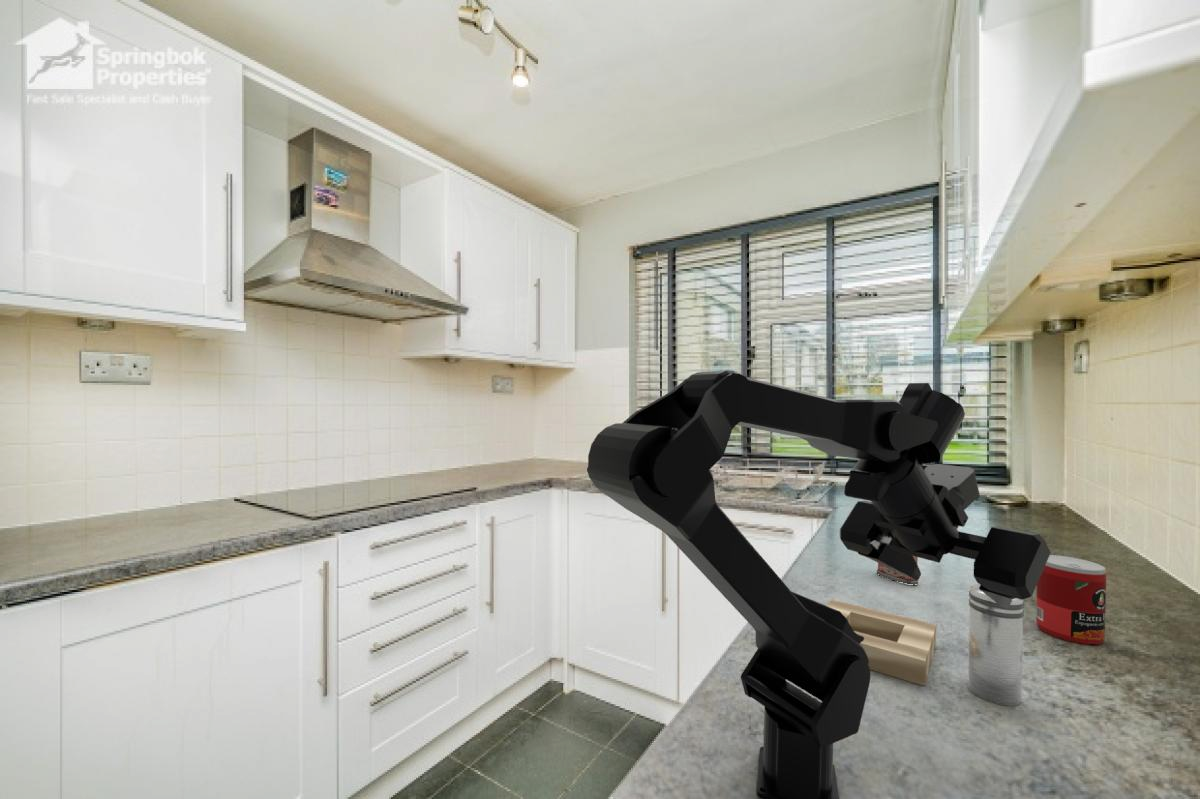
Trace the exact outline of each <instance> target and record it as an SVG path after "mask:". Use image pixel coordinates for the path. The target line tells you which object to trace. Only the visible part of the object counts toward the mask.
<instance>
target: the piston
mask: <svg viewBox="0 0 1200 799" xmlns="http://www.w3.org/2000/svg"><path fill="white" fill-rule="evenodd" d="M979 587H980V584H973V585H970V588H969V591H968V597H969V598H968V605H969V625H968V626H969V628H968V629H969V633H968V634H969V635H968V673H967V674H968V677H967V679H968V680H967V684H968V685H967V687H968V689H969V691H970V692H971V693H972V694H974V695H975V696H977V697H979V698H981V699H983V700H985V701H988V702H990V703H994V704H997V705H1001V706H1006V707H1008V706H1009V707H1015V706H1020V704H1022V682H1023V680H1022V679H1023V676H1022V675H1023V674H1022V673H1023V635H1024V634H1023V632H1024V631H1023V628H1024V627H1023V626H1024V622H1023V621H1024V617H1025V609H1024V608H1025V600H1024V599H1023V600H1021V599H1017V598H1015V599H1012V602H1011V604H1010V606H1009V608H1008V609H1007V608H1004V607H1002V606H1001V605H999V604H998V603H996V602H995V601H994V600H992V599H991V598H990V597H989V596H987V595H986V594H985V593H983V592H982V591H981V590H980V589H979Z"/></svg>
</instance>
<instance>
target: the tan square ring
mask: <svg viewBox="0 0 1200 799" xmlns="http://www.w3.org/2000/svg"><path fill="white" fill-rule="evenodd" d="M825 605H826V606H828V607H830V608H833V609H835V610H838V611H840V612H841V613H842V614H843V615H844V616H845V618H846V619H847V620H848V622H849V624H850V626H851V628H852V629H853V631H854V632H855V633H856V634H858V635H861V636H863V637H864V640H863V641H862V642H861V643H860V645H861V646H862V647H863V648H864V650H865V652H866V654H867V657H868V661H869V663H868V666H869V669H870V671H874V672H878V673H880V674H885V675H887V676H891V677H894V678H896V679H897V678H898V679H901V680H905V681H906V682H910V683H914V684H917V685H921V686H924V687H926V684H927V681H928V676H929V673H930V669H931V665H932V662H933V659H934V654H935V652H936V648H937V628H938V627H937V626H938V625H937V624H935V623H933V622H928V621H923V620H919V619H915V618H911V617H907V616H903V615H899V614H894V613H891V612H886V611H882V610H877V609H874V608H871V607H870V608H869V607H865V606H861V605H856V604H853V603H848V602H844V601H840V600H835V599H831V600H830V601H828V603H827V604H825Z"/></svg>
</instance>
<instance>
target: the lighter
mask: <svg viewBox="0 0 1200 799" xmlns="http://www.w3.org/2000/svg"><path fill="white" fill-rule="evenodd" d="M913 558H914V559H915V561H916V563H917V564H918V559H919V557H916V556H913ZM877 574H879V575H880V576H879V575H878V576H879V577H881V576H883V577H882V578H884V577H885V578H884V579H886V578H888V579H887V580H889V579H891V580H890V581H892V580H895V581H898V582H903V583H907V584H913V585H915V584H918V585H919V580H918V581H916V580H913V579H911V578H909V577H907V576H905V575H903V574H901V573H899V572H897V571H895V570H893V569H891V568H889V567H886V566H884V565H882V564H880V563H878V562H877V569H876V575H877ZM895 581H894V582H895ZM898 582H897V583H898Z"/></svg>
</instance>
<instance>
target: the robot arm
mask: <svg viewBox="0 0 1200 799" xmlns="http://www.w3.org/2000/svg"><path fill="white" fill-rule="evenodd" d="M965 414H966V413H965V409H964V407H963V406H962V404H961V403H960V402H957V401H956V400H954V399H953V397H951V396H949V395H947V394H944V393H943V392H941V391H937V390H934V389H932V387H931V385H930V383H929V382H915V383H912V382H910V383H907V386H906V387H905V389H904V391H903V393H902V396H901V398H900V399H899V401H897V400H895V399H876V398H875V399H874V398H873V399H868V398H867V399H859V398H858V399H857V398H856V399H849V398H848V399H846V398H845V399H844V398H839V399H838V398H837V399H836V398H834V399H833V398H830V397H825V396H821V395H818V394H814V393H810V392H806V391H801V390H797V389H794V388H789V387H785V386H782V385H779V384H773V383H771V382H770V383H769V382H766V381H762V380H758V379H755V378H751V377H747V376H745V375H744V374H741V373H739V372H738V371H735V370H714V371H698V372H695V373H692V374H691V375H689V376H688V377H687V378H685V379H684V380H683V381H681V383H679V384H678V385H677V386H676V387H675V388H674V389H672V390H671V391H670V392H668V393H666V394H664V395H662V396H661V397H659V398H657V399H656V400H653V401H652V402H650V403H648V404H646V405H645V406H643V407H642V408H640V409H638V410H636V411H635V412H633V413H632V414H631V415H630V416H629V417H627V418H626V419H625V420H624V421H623V422H622V423H614V424H611V425H608V426H606V427H605V428H603V429H602V430H601V431H600V432H599V433H598V434H597V435H596V436H595V438H594V440H593V441H592V443H591V445H590V448H589V452H588V455H587V468H586V469H587V470H586V472H587V475H588V477H589V479H590V481H591V482H592V484H593V485H594V486H595V488H596V489H597V490H599V491H600V492H601V493H603V494H604V495H605V496H606V497H609V498H610V499H611V500H612V501H614V502H615V503H617V504H618V505H620V506H621V507H623V508H624V509H626V510H627V511H629V512H631V513H632V514H634V515H636V516H637V517H639V518H640V519H642V520H644V522H645V521H646V522H647V523H648V524H650V525H652V526H654V527H655V528H657V529H659V530H660V531H662V533H664V534H665V535H666V536H667V537H668V538H669V539H670V540H671V541H672V542H673V543H674V544H675V546H676V547H677V548H678V549H679V550H680V551H681V552H682V553H683V554H684V556H686V557H687V559H688V560H690V562H691V563H692V564H693V565H694V566H695V567H696V568H697V569H698V570H699V571H700V572H701V573H702V575H703V576H704V577H705V578H706V579H707V580H708V581H709V582H710V583H711V584H712V585H713V586H714V587H715V589H717V591H718V592H720V594H721V595H722V596H723V597H724V598H725V599H726V601H728V602H729V604H731V606H733V608H734V609H735V610H736V611H737V612H738V613H739V614H740V615H741V616H742V617H743V619H744V620H746V622H747V623H748V624H749V625H750V626H751V627H752V628H753V630H754V631H755V647H756V648H757V650H756V651H755V652H754V654H753V656H752V657H751V659H750V660H749V662H748V664H747V665H746V666H745V668H744V669H743V671H742V673H741V676H740V679H741V680H740V681H741V684H742V688H743V691H744V695H746V696H747V697H749V698H752V699H753V700H755V701H756V702H757V703H759V704H760V705H761V706H763V707H764V711H763V713H764V715H763V716H764V717H763V745H762V746H760V748H759V753H758V767H757V777H756V796H757V797H758V798H760V799H840V797H839V791H838V790H839V789H838V782H837V776H836V768H835V765H834V743H835V744H836V743H837V742H839V741H841V740H845V739H847V738H849V737H851V736H853V735H855V734H858V733H859V730H860V726H861V720H862V716H863V714H864V713H863V712H864V709H865V704H866V701H867V697H868V696H867V695H868V691H869V687H870V682H871V670H870V669H869V666H868V663H869V661H868V657H867V654H866V652H865V650H864V648H863V647H862V646H861V645H860V643H861V642H862V641H863V640H864V637H863V636H861V635H858V634H856V633H855V632H854V631H853V629H852V628H851V626H850V624H849V622H848V620H847V619H846V618H845V616H844V615H843V614H842V613H841V612H840V611H838V610H835V609H833V608H830V607H828V606H826V605H827V604H823V603H821V602H818V601H816V600H813V599H811V598H808V597H806V596H803V595H801V594H798V593H796V592H794V591H791V589H790V588H789V587H788V586H787V585H786V583H785V582H784V581H783V580H782V579H781V578H780V577H779V575H778V574H777V573H776V572H775V571H774V569H772V567H771V565H769V564H768V562H767V561H766V560H765V558H763V557H762V555H761V554H760V553H759V552H758V551H757V549H756V548H755V547H754V546H753V545H752V544H751V542H750V541H749V540H748V539H747V538H746V536H744V534H743V533H742V532H741V531H740V530H739V529H738V528H739V527H738V526H736V525H735V524H734V523H733V521H732V520H731V519H730V518H729V517H728V516H727V514H726V513H725V511H723V509H722V508H721V507H720V506H719V504H718V502H717V501H716V493H715V490H716V489H715V481H714V475H713V473H712V471H711V469H712V468H713V467H714V466H715V465H716V464H717V463H718V462H719V461H720V460H721V459H722V458H723V456H724V454H726V453H725V452H726V449H727V446H728V444H729V440H730V438H731V434H732V431H733V429H734V428H735V427H737V426H738V427H739V426H740V427H744V428H750V429H756V430H760V431H766V432H771V433H775V434H781V435H786V436H791V437H797V438H800V439H802V440H804V441H807V443H808V444H809V445H810V447H812V448H814V449H816V450H818V451H820V452H822V453H825V454H826V455H829V456H832V457H841V458H850V459H857V460H858V461H857V462H856V463H855V465H854V467H853V469H851V470H850V471H849V476H848V477H849V478H848V480H847V481H846V483H845V485H844V495H845V496H846V497H847V498H854V499H860V500H858V501H857V502H856V503H855V504H854V506H853V508H852V509H851V510H850V512H849V513H848V515H847V517H846V519H845V520H844V522H843V523H842V525H841V526H840V529H839V538H840V541H841V542H842V544H843V545H844V546H845V548H846V550H849V551H851V552H854V553H855V552H856V553H857V554H858V555H860V556H862V557H864V558H867V559H869V560H871V561H874V562H876V563H877V564H878V563H880V564H882V565H884V566H886V567H889V568H891V569H893V570H895V571H897V572H899V573H901V574H903V575H905V576H907V577H909V578H911V579H913V580H916V581H918V582H919V579H920V577H921V575H922V572H921V570H920V567H919V565H918V562H917V563H916V561H915V559H914V558H913V556H916V557H918V559H919V558H920V559H924V560H927V561H931V562H934V563H941V561H942V559H943V556H944V555H947V554H951V555H956V556H959V557H963V558H967V559H971V560H974V561H973V577H974V579H975V581H976V583H977V584H978V585H980V587H979V589H980V590H981V591H982V592H983V593H985V594H986V595H987V596H989V597H990V598H991V599H992V600H994V601H995V602H996V603H998V604H999V605H1001V606H1002V607H1004V608H1007V609H1008V608H1009V606H1010V604H1011V602H1012V599H1015V598H1017V599H1021V600H1023V601H1024V600H1025V599H1030V598H1032V596H1033V594H1034V592H1035V590H1036V589H1037V583H1038V581H1039V579H1040V576H1041V574H1042V572H1043V569H1044V567H1045V565H1046V563H1047V560H1048V558H1049V556H1050V555H1051V554H1052V553H1051V550H1050V548H1049V546H1048V543H1047V542H1046V540H1045V539H1044V538H1043V537H1042V535H1041V534H1040V533H1036V532H1030V531H1026V530H1021V529H1016V528H1011V527H1010V528H1009V527H1005V526H1000V525H997V526H992V527H990V529H989V532H988V534H987V535H986V536H982V535H977V534H972V533H967V532H964V531H959V530H958V528H959V527H963V528H964V527H965V526H966V524H967V522H968V520H969V516H968V515H967V512H966V510H967V508H969V507H970V506H971V504H972V503H974V501H977V500H979V498H981V494H980V489H979V486H978V482H977V477H976V472H975V470H974V468H972V467H968V466H959V465H958V466H957V465H950V464H942V463H940V460H941V459H942V458H943V456H944V454H945V452H946V450H947V448H948V447H949V445H950V443H951V441H952V440H953V438H954V437H955V435H956V433H957V431H958V430H959V428H960V426H961V424H962V422H963V420H964V419H965ZM934 463H935V464H934ZM937 463H938V464H937ZM788 681H789V682H788ZM806 692H807V693H806ZM819 700H820V701H819Z"/></svg>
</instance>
